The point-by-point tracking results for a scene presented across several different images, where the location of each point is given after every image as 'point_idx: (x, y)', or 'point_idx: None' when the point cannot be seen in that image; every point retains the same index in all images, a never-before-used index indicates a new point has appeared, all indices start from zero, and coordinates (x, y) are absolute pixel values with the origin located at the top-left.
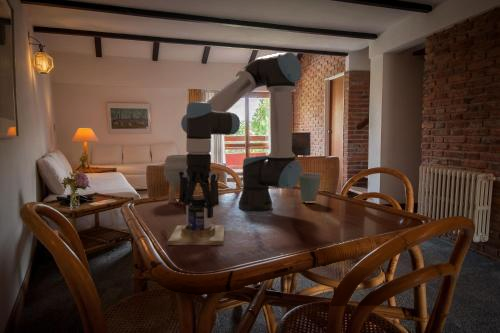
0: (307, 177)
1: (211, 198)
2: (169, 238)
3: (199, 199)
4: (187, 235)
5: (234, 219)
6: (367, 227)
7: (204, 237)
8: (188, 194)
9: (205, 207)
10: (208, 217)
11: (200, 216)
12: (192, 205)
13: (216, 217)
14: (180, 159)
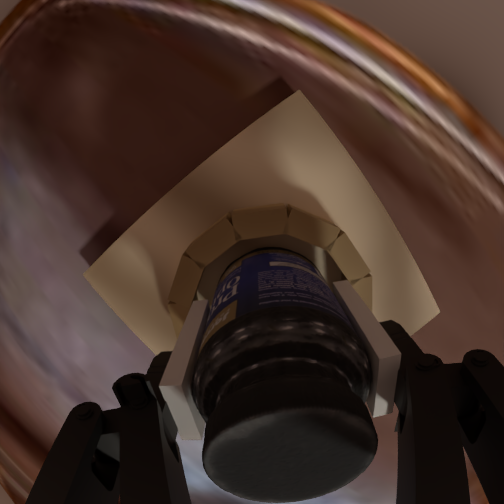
0: None
1: (75, 457)
2: (325, 123)
3: (221, 438)
4: (264, 206)
5: None
6: None
7: (180, 256)
8: (423, 446)
9: (144, 378)
10: (171, 353)
11: (210, 322)
12: (310, 364)
13: (370, 473)
14: None
